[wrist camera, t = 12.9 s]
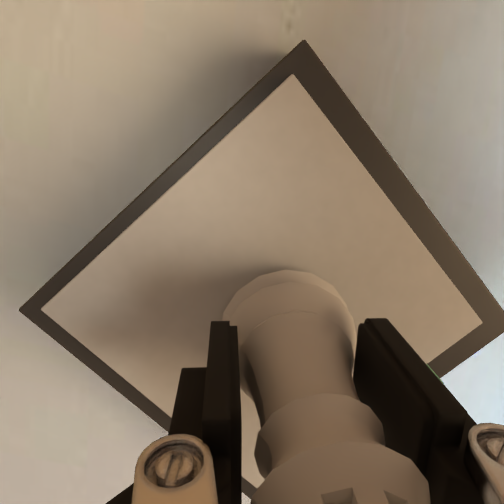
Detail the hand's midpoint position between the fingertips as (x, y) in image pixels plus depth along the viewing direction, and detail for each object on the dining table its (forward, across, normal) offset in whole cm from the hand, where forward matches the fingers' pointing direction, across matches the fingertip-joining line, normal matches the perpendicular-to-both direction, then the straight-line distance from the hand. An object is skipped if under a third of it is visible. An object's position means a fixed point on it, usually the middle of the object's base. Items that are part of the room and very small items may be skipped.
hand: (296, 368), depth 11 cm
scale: (+6, 0, 0) cm, 6 cm away
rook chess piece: (+3, 0, 0) cm, 3 cm away
